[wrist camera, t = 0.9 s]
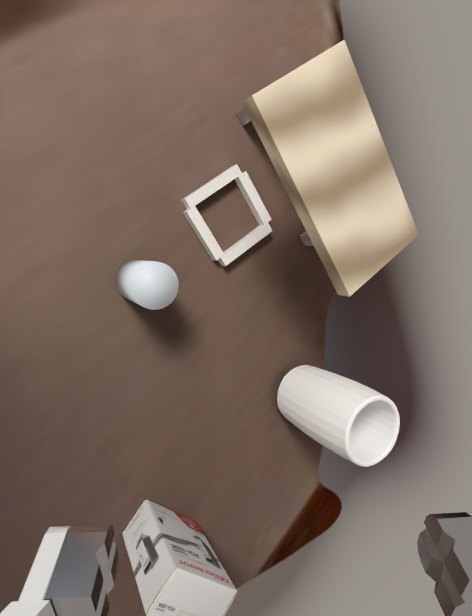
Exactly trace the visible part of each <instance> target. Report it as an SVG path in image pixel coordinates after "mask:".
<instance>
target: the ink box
mask: <svg viewBox="0 0 472 616" xmlns="http://www.w3.org/2000/svg"><path fill="white" fill-rule="evenodd" d="M123 538H124V541H125V545H126V548H127V551H128V555H129V558H130V561H131V565H132V568H133V572H134V575H135V579H136V582H137V585H138V589H139V592H140V596H141V599H142V603H143V606H144V610H145V613H146V616H225V614H226V612H227V610H228V609H229V607H230V605H231V603H232V601H233V599H234V597H235V596H236V594H237V590H236V588H235V586H234V585H233V583H232V581H231V580H230V578H229V576H228V575H227V573H226V571H225V570H224V568H223V566H222V565H221V563H220V561H219V560H218V558H217V556H216V554H215V553H214V551H213V549H212V548H211V546H210V544H209V542H208V541H207V539H206V537H205V536H204V534H203V532H202V530H201V529H200V527H199V525H198V523H197V522H195V521H192V520H190V519H188V518H186V517H184V516H182V515H179V514H177V513H175V512H173V511H171V510H169V509H166V508H164V507H162V506H160V505H158V504H156V503H154V502H151V501H149V500H147V499H146V500H145V501H144V502H143V504H142V505H141V507H140V508H139V509H138V511H137V512H136V514H135V515H134V517H133V518H132V520H131V521H130V523H129V524H128V526H127V527H126V529H125V530H124V531H123Z"/></svg>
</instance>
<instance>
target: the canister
mask: <svg viewBox="0 0 472 616" xmlns="http://www.w3.org/2000/svg"><path fill="white" fill-rule="evenodd" d="M116 286H117V289H118V291H119V292H120V294H121V295H122V296H124V297H125V298H127V299H129V300H131V301H133V302H135V303H137V304H139V305H141V306H143V307H145V308H147V309H151V310H158V309H162V308H165V307H166V306H168V305H169V304H171V303H172V301H173V300H174V299H175V297H176V295H177V292H178V279H177V276H176V274H175V272H174V271H173V269H172V268H171V267H169V266H168V265H166V264H164V263H161V262H155V261H142V260H132V261H129V262H126V263H125V264H123V265H122V266H121V267H120V269H119V270H118V272H117V274H116Z"/></svg>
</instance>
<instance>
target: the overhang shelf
mask: <svg viewBox="0 0 472 616" xmlns="http://www.w3.org/2000/svg"><path fill="white" fill-rule="evenodd" d="M243 105H244V107H245V108H244V109H242V110H241V111H239V112H238V113H236V114H237V116H238V118H239V120H240V122H241V124H242V126H244V125H245V124H247V123H249V122H250V121H252V123H253V125H254V127H255V129H256V131H257V133H258V135H259V137H260V139H261V141H262V143H263V145H264V147H265V149H266V151H267V153H268V155H269V157H270V159H271V161H272V163H273V165H274V167H275V169H276V171H277V173H278V175H279V177H280V179H281V181H282V183H283V185H284V187H285V189H286V191H287V193H288V195H289V197H290V199H291V201H292V203H293V205H294V207H295V209H296V211H297V213H298V215H299V217H300V219H301V221H302V223H303V225H304V227H305V229H306V231H305V232H304V233H302V234H301V235H300V236H299V237H300V239H301V241H302V243H303V245H304V246H314V247H315V249H316V251H317V253H318V255H319V257H320V259H321V261H322V263H323V265H324V267H325V269H326V271H327V273H328V275H329V277H330V279H331V281H332V283H333V285H334V287H335V289H336V291H337V293H338V295H343V296H351V295H352V294H353V293H354V292H355V291H356V290H358V288H360V287H361V286H362V285H363V284H364V283H365V282H367V281H368V279H370V278H371V277H372V276H373V275H374V274H375V273H377V272H378V271H379V270H380V269H381V268H382V267H383V266H384V265H385V264H386V263H388V262H389V261H390V260H391V259H392V258H393V257H394V256H395V255H397V254H398V253H399V252H400V251H401V250H402V249H403V248H404V247H405V246H406V245H407V244H409V243H410V242H411V241H412V240H413V239H414V238H415V237H417V236H418V232H417V229H416V227H415V224H414V221H413V219H412V216H411V213H410V211H409V208H408V206H407V203H406V200H405V198H404V195H403V192H402V190H401V187H400V185H399V182H398V180H397V177H396V174H395V172H394V169H393V166H392V164H391V161H390V158H389V156H388V153H387V151H386V148H385V145H384V143H383V140H382V138H381V135H380V133H379V130H378V127H377V124H376V122H375V119H374V116H373V114H372V111H371V109H370V106H369V103H368V101H367V98H366V96H365V93H364V90H363V88H362V85H361V82H360V80H359V77H358V74H357V72H356V69H355V67H354V64H353V62H352V59H351V56H350V54H349V51H348V48H347V46H346V43H345V40H343V41H342V42H340V43H338V44H337V45H335V46H333V47H332V48H330V49H328V50H327V51H325V52H323V53H322V54H320V55H318V56H317V57H315V58H313V59H312V60H310V61H308V62H307V63H305V64H303V65H302V66H300V67H298V68H297V69H295V70H294V71H292V72H290V73H289V74H287V75H285V76H284V77H282V78H280V79H279V80H277V81H275V82H274V83H272V84H270V85H269V86H267V87H265V88H264V89H262V90H260V91H259V92H257V93H255V94H254V95H252V96H251V97H249V98H248V99H247V100H245V101H244V102H243Z"/></svg>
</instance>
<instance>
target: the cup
mask: <svg viewBox="0 0 472 616" xmlns="http://www.w3.org/2000/svg"><path fill="white" fill-rule="evenodd" d="M277 403H278V408H279V410H280V412H281V413H282V414H283V416H284V417H285V418H286V419H288V420H289V421H290V422H291V423H292V424H294V425H295V426H296V427H298V428H299V429H300V430H301V431H303V432H304V433H306V434H307V435H308V436H310V437H311V438H313V439H314V440H315V441H317V442H318V443H320V444H321V445H323V446H325V447H326V448H328V449H330V450H331V451H333V452H335V453H336V454H338V455H340V456H342V457H343V458H345V459H347V460H349V461H351V462H353V463H355V464H357V465H359V466H364V467H367V466H371V465H374V464H376V463H378V462H379V461H381V460H382V459H383V458H384V457H385V456H387V454H388V453H389V452H390V451H391V449H392V448H393V446H394V444H395V442H396V439H397V435H398V432H399V425H400V420H399V413H398V410H397V407H396V406H395V404H394V403H393V401H391V400H390V399H389V398H388V397H386V396H384V395H382V394H380V393H378V392H376V391H374V390H373V389H371V388H369V387H367V386H364V385H362V384H360V383H358V382H356V381H353V380H350V379H348V378H345V377H342V376H340V375H337V374H335V373H331V372H329V371H326V370H323V369H320V368H317V367H313V366H310V365H301V366H298V367H296V368H294V369H292V370H291V371H290V372H288V373H287V375H286V376H285V377H284V378H283V380H282V382H281V384H280V386H279V390H278V395H277Z"/></svg>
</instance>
